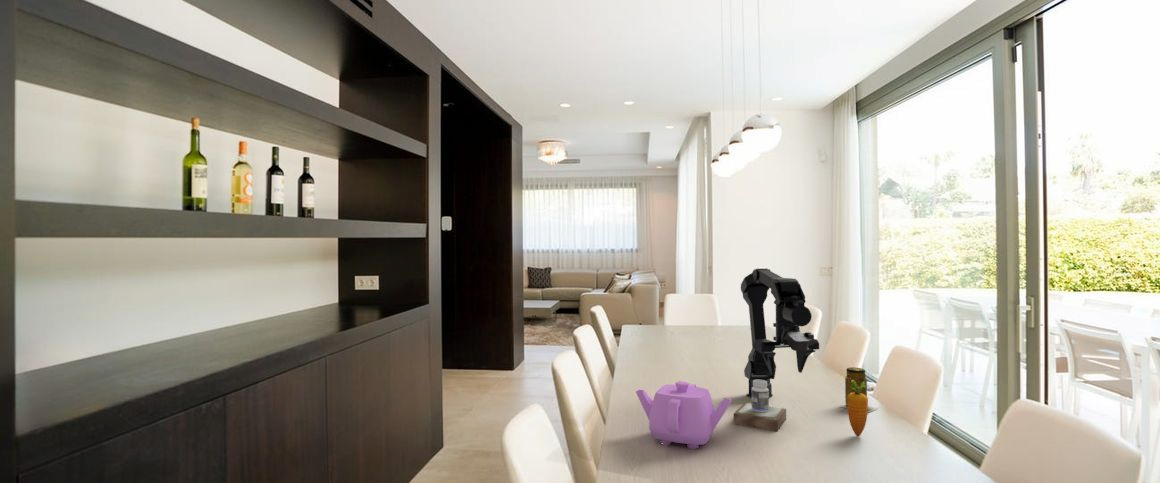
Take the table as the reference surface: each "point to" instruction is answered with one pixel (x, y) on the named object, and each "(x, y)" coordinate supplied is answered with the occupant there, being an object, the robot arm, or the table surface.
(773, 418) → the pedestal
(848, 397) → the carrot
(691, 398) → the teapot
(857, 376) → the condiment
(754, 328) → the robot arm
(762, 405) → the pill bottle
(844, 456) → the table surface
